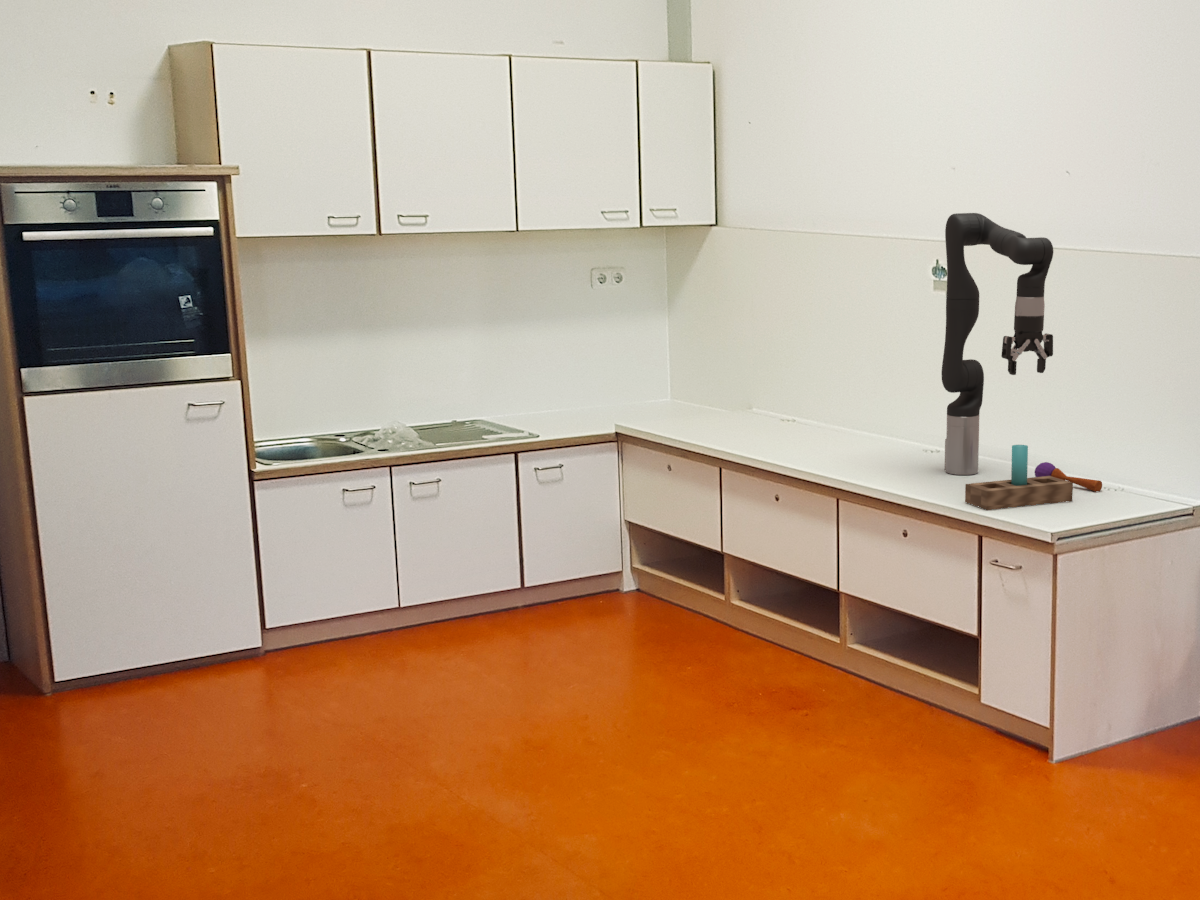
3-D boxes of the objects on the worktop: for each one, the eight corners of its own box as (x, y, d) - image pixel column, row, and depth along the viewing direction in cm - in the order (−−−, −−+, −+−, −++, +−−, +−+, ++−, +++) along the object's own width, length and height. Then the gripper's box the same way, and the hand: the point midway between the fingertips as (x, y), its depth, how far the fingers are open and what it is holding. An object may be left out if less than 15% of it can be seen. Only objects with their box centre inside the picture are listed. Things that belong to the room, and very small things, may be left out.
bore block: (986, 510, 346) (986, 491, 345) (965, 502, 355) (965, 484, 354) (1072, 501, 353) (1072, 482, 352) (1049, 493, 363) (1049, 475, 362)
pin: (1007, 497, 355) (1008, 445, 353) (1020, 495, 357) (1021, 444, 354) (1016, 500, 352) (1017, 447, 349) (1029, 498, 353) (1031, 446, 350)
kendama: (1091, 480, 361) (1030, 464, 377) (1091, 500, 363) (1030, 483, 379) (1105, 473, 364) (1043, 457, 380) (1105, 493, 366) (1043, 476, 382)
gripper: (1044, 310, 362) (1041, 370, 365) (998, 313, 358) (995, 373, 361) (1061, 313, 355) (1057, 374, 358) (1013, 316, 351) (1011, 377, 354)
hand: (1026, 373), depth 360 cm, fingers open, 8 cm apart
